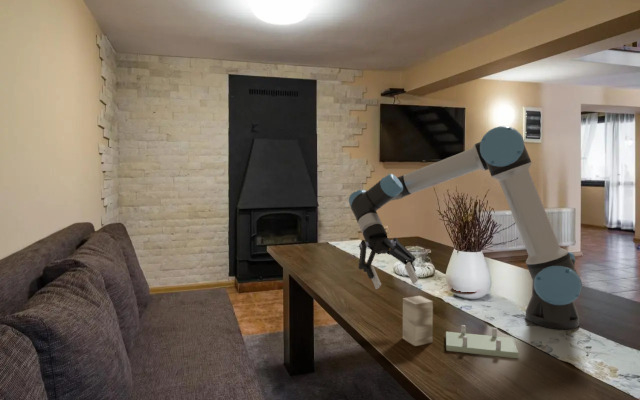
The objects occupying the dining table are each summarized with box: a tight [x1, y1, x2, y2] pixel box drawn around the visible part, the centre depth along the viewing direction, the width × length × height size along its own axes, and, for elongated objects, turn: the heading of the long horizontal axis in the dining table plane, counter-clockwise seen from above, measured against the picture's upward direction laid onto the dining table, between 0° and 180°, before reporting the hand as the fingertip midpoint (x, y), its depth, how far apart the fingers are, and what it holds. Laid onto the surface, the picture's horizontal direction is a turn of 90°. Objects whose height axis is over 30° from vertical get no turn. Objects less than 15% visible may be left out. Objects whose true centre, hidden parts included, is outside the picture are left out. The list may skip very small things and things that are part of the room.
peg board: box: [445, 324, 520, 359], centre depth 116 cm, size 18×10×4 cm, turn 74°
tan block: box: [402, 295, 434, 347], centre depth 120 cm, size 6×6×12 cm
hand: (397, 284), depth 128 cm, fingers open, 13 cm apart
